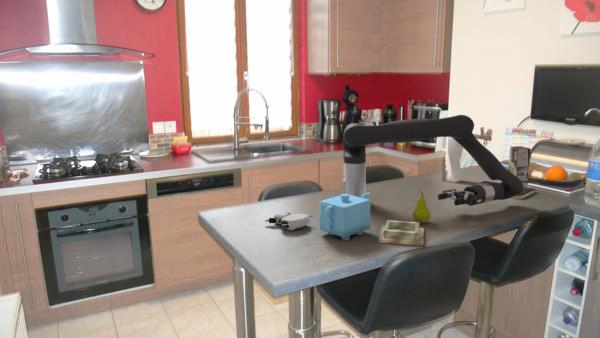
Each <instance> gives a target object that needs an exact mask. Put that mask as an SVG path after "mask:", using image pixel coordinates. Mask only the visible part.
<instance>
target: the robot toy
mask: <svg viewBox="0 0 600 338" xmlns="http://www.w3.org/2000/svg"><path fill="white" fill-rule="evenodd" d="M313 217H315V215H314V214H313V215H309V214H305V213H294V214H291V212H279V213H277V214H273V217H269V218H266V219H265V220H264V221H265V222H266V223H268V224H276V225H277V224H281V225H280V226H281V228H284V229H286V230H288V231H290V230H291V231H295V230H296V229H299V228H303V227H305V226H307V225H308V224H310V223H311V222H310V221H311V219H310V218H313Z"/></svg>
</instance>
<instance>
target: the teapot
mask: <svg viewBox="0 0 600 338" xmlns="http://www.w3.org/2000/svg"><path fill="white" fill-rule="evenodd" d="M370 194H371V192H369V191H368V192H365V193H364V194H363V195H362V197H356V196H352V195H348V194H343V193H341V194H340V195H337V196H333V197H330V198H326V199H323V200H319V230H320V231H323V232H326V234H327V235H328V234H329V235H328V236H334V235H335V236H337V237H340V238H341V240H342V241H349V240H351V238H350V236H353V235H357V236H362V235H364V231H366V230H369V229H371V199H368V198H367V197H368V196H369V195H370Z"/></svg>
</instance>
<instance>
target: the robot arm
mask: <svg viewBox="0 0 600 338" xmlns="http://www.w3.org/2000/svg"><path fill="white" fill-rule="evenodd" d="M474 128H475V123H474V120H473V119H472V118H471V117H469V115H465V114H458V115H453V116H448V117H442V118H414V119H413V118H410V119H400V120H394V121H390V122H389V121H388V122H387V123H383V124H382V123H381V124H376V125H361V124H360V123H358V122H357V123H356V122H352V123H350V124H347V125H346V127H345V128H344V130H343V139H342V140H343V144H342V145H343V180H342V194H348V195H352V196H356V197H362V195H363V194H364V193H366V185H367V184H366V180H367V179H366V177H367V176H366V174H367V173H366V172H367V170H366V166H367V165H366V164H367V162H366V161H367V160H366V159H367V156H366V155H367V154H366V146H368V145H374V144H375V145H376V144H402V143H413V142H414V143H415V142H420V141H426V140H431V139H434V138H445V137H446V138H447V137H452V138H453V139H454V140H456V141H457V142H458V143H459V144H460V145H461V146H462V147H463V150H465V151H466V152H467V153H468V154H469V155H470V157H471V158H472V159H473V160H474V161H475V162H476V164H477V165H478V166H479V167H480V169H481V170H482V171H483V172H484V173H485V175H486V176H487V177H488V178H489V179H490V180H491V181H492V182H493V183H486V184H477V183H475V184H476V185H475V184H471V185H467V186H465V188H464V189H463V190H462V189H461V190H457V189H456V188H453V189H446V190H443V191H442V193H438V194H437V200H439V201H442V200H447V199H448V200H449V199H450V200H451V201H453V202H454V204H453V205H454V206H460V205H461V206H462V205H465V206H467V205H468V206H469V207H473V206H477V205H480V204H487V203H489V202H493V201H503V200H504V201H505V200H508V199H512V198H511V197H514V196H516V195H519V194H521V193H522V192H523V190H524V187H525V185H524V183H523V181H521V180H520V179H519V178H518V177H517V176H515V175H514V174H513V173H511V172H510V171H509V170H508V168H506V167H505V166H504V165H503V163H502V162H501V161H500V160H499V159H498V158H497V157H496V156H495V155H494V153H492V152H491V150H489V149H488V148H486V147H485V146H484V145H483V144H482V143H481V141H479V140H478V138H477V137H476V136H475V135H474V133H473V131H474ZM494 181H500V182H494Z"/></svg>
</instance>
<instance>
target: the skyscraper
mask: <svg viewBox="0 0 600 338" xmlns="http://www.w3.org/2000/svg"><path fill="white" fill-rule="evenodd" d="M463 150H464V148H463V147H462V146H461V145H460V144H459V143H458V142H457V141H456V140H454V139H453V138H452V137H448V140H447V154H448V161H449V162H448V167H447V164H446V158H443V165H442V175H441V176H442V178H441V182H445V183H452V184H455V183H459V182H461V181H462V169H461V168H462V167H461V158H462V155H463ZM446 171H447V172H446Z"/></svg>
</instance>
